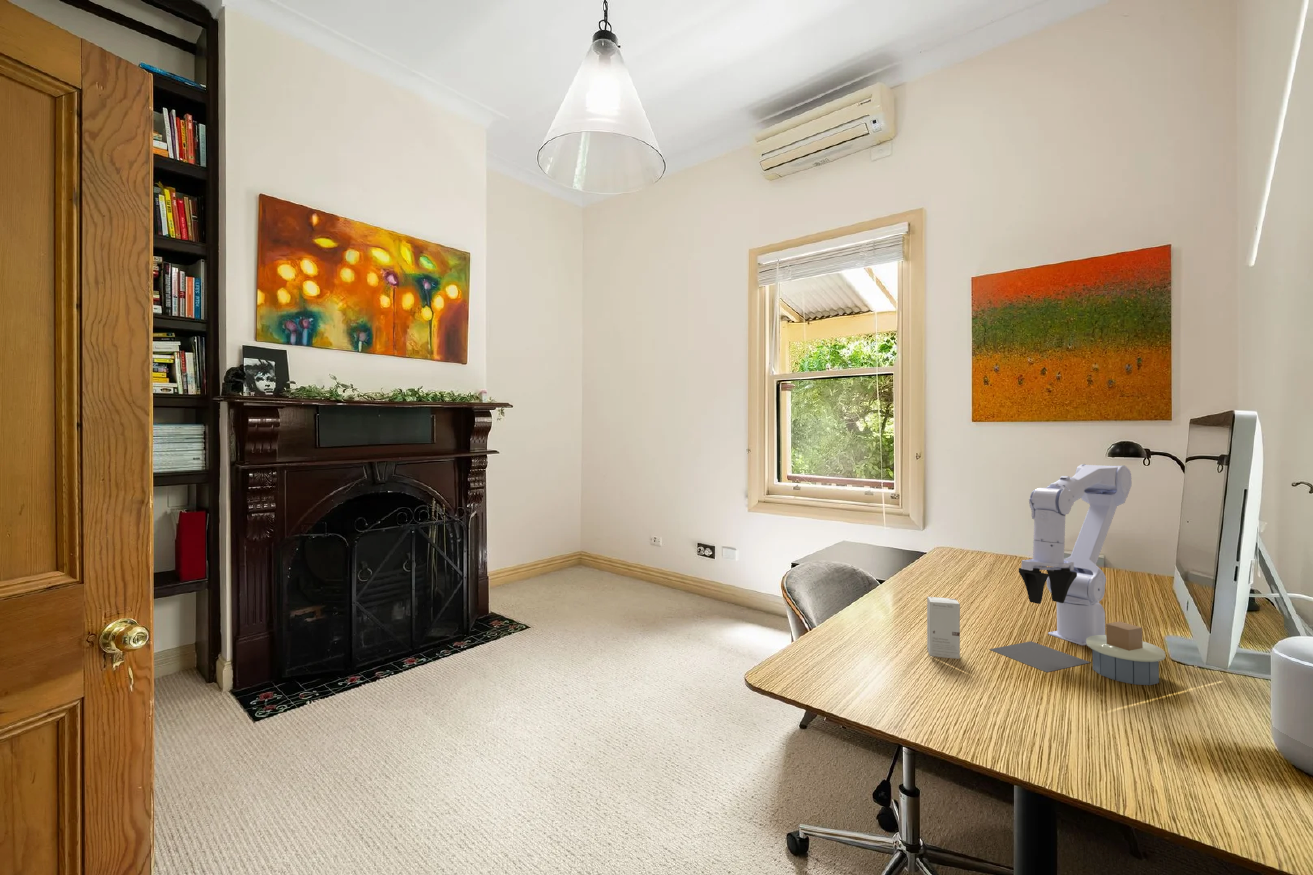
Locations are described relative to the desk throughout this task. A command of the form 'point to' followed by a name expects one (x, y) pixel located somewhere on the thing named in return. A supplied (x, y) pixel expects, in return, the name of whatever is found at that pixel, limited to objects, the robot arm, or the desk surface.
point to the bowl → (1126, 669)
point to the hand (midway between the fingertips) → (1046, 602)
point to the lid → (1125, 643)
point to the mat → (1039, 656)
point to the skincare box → (943, 627)
